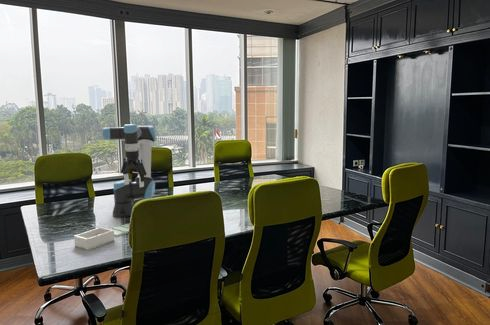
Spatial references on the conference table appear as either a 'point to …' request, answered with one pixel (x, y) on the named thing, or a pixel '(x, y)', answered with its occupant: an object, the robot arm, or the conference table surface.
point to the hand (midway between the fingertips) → (134, 185)
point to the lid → (121, 230)
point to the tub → (94, 238)
